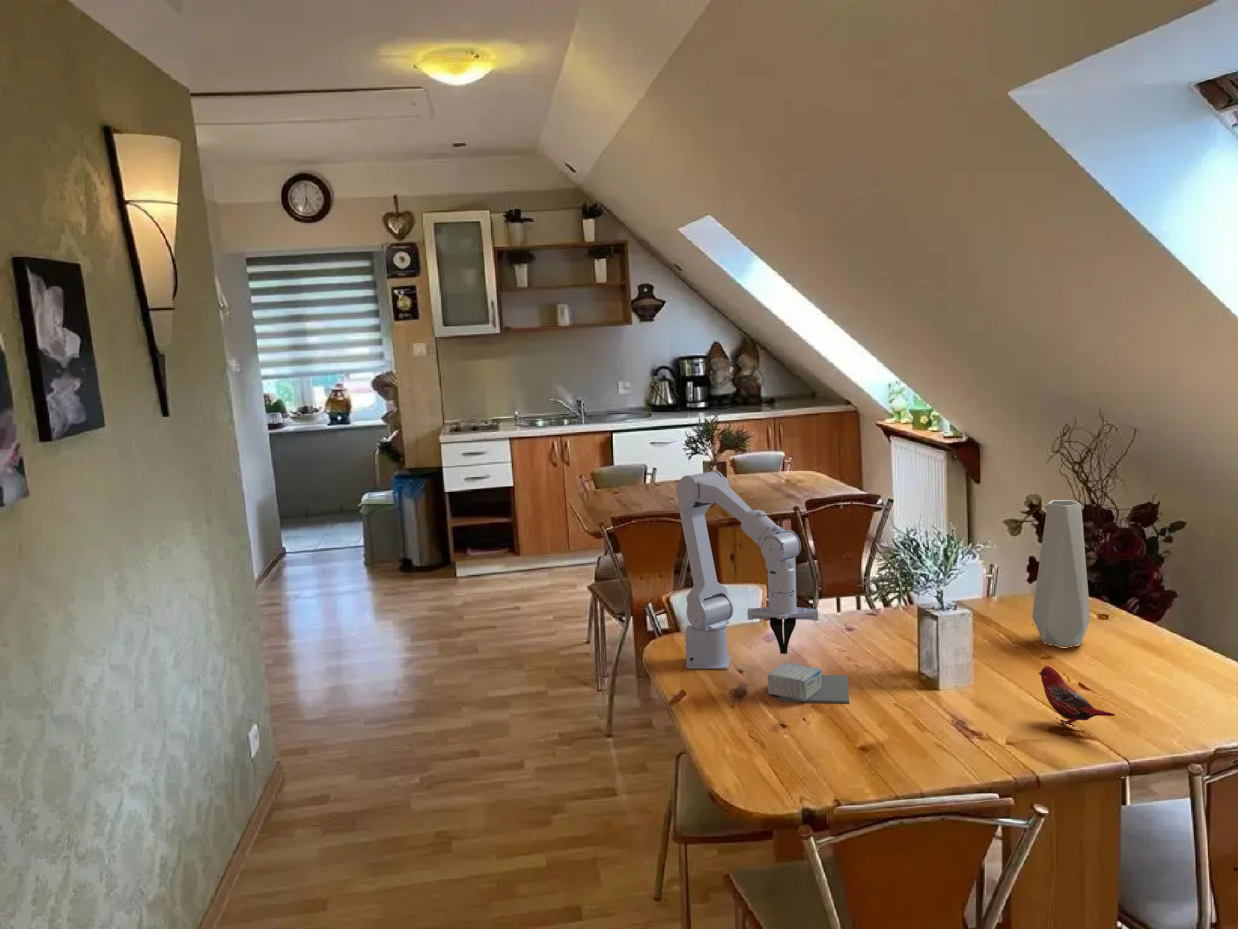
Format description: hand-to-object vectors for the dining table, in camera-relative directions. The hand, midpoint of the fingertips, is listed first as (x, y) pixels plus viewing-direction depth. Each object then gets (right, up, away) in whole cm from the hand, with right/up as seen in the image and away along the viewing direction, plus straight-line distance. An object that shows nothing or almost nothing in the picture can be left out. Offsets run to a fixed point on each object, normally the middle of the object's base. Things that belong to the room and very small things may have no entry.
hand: (783, 652), depth 202 cm
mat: (+6, -8, 0) cm, 10 cm away
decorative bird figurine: (+49, -9, -25) cm, 56 cm away
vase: (+67, -2, +19) cm, 69 cm away
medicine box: (-2, -5, 0) cm, 6 cm away
